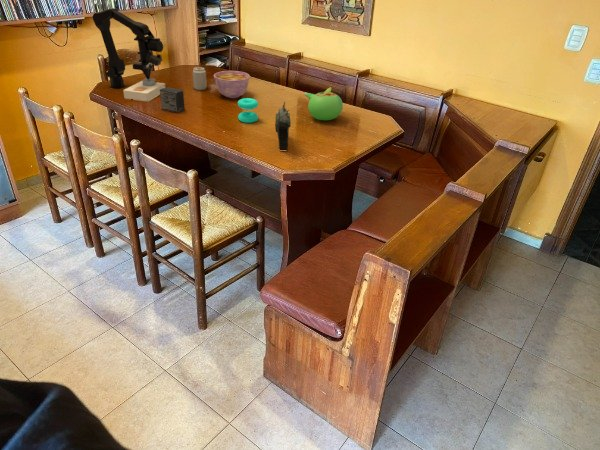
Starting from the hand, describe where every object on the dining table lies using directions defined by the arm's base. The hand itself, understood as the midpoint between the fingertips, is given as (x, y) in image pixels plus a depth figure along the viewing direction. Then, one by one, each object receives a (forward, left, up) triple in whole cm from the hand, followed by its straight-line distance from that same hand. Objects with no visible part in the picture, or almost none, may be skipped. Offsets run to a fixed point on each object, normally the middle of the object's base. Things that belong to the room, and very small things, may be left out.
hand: (148, 79), depth 250 cm
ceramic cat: (+90, -44, -8) cm, 101 cm away
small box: (+25, -21, -8) cm, 34 cm away
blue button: (0, 0, -4) cm, 4 cm away
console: (0, -5, -8) cm, 9 cm away
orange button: (0, -10, -6) cm, 12 cm away
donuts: (+66, -21, -8) cm, 70 cm away
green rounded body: (+102, -5, -8) cm, 102 cm away
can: (+23, +17, -8) cm, 30 cm away
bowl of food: (+45, +12, -8) cm, 47 cm away
